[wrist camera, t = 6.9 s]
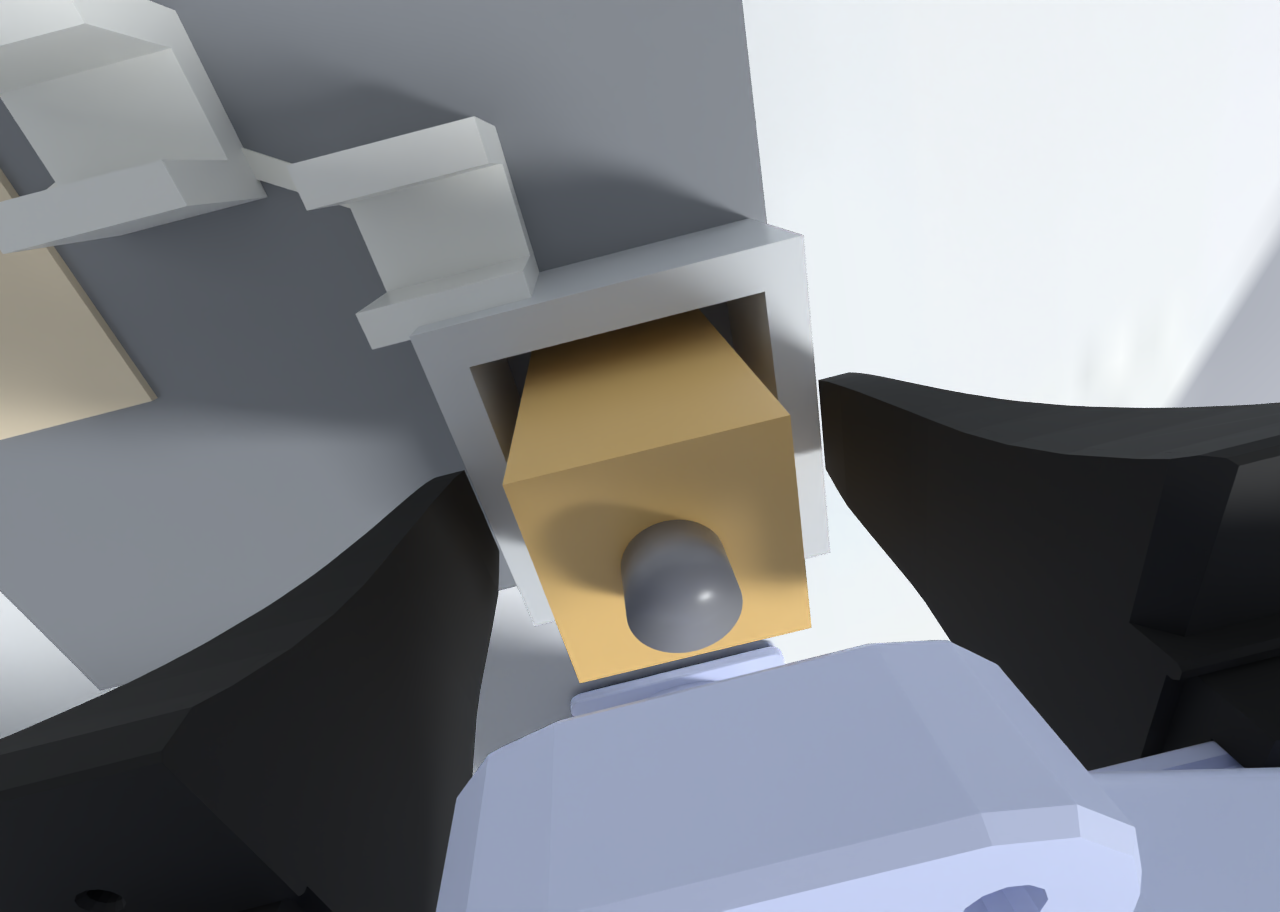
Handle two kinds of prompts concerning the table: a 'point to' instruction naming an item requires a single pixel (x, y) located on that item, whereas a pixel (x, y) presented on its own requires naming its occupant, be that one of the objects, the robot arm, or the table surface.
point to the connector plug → (657, 496)
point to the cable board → (341, 277)
